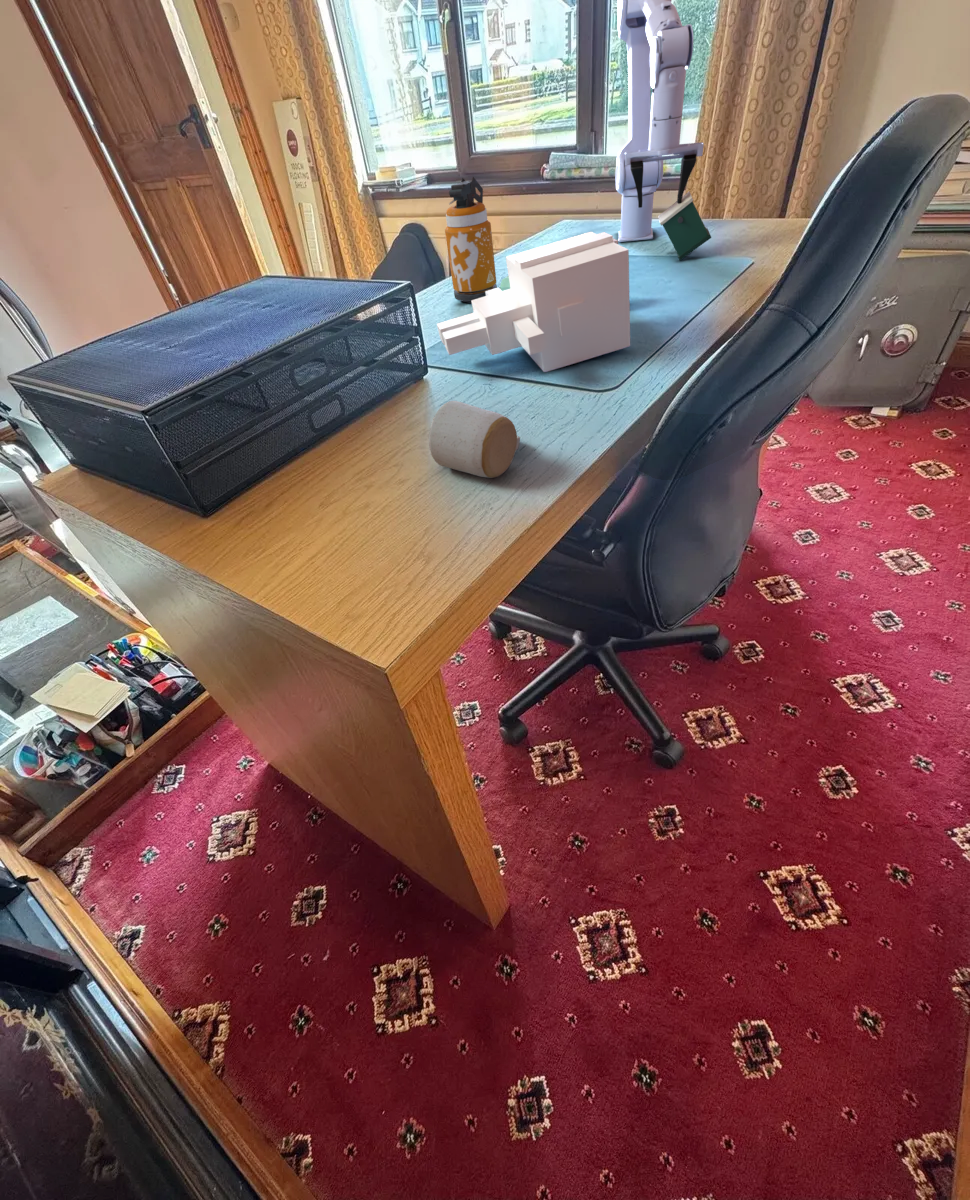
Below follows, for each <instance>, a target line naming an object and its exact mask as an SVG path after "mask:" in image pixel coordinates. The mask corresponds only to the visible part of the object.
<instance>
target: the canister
mask: <svg viewBox="0 0 970 1200" xmlns="http://www.w3.org/2000/svg"><path fill="white" fill-rule="evenodd" d="M477 191H478V192H479V194H478V193H477ZM448 195H449V197H450V198H453V199H452V200H451V201H450V202H448V205H452V204H453V203H455V205H452V206H450V207H448V208H447V209H446V214H445V220H446V221H445V222H446V227H445V229H444V233H445V240H446V247H447V253H448V261H449V267H450V274H451V282H452V289H453V297H454V299H456V301H461V302H463V303H469V304H472V302H471V300H474V299H478V298H481V297H484V296H486V293H485V291H488V290H491V289H495V288H498V286H497V275H496V274H497V273H496V264H495V254H494V245H493V234H492V233H493V232H492V223H491V221H489V220H488V212H487V211H488V210H487V208H486V205H485V203H484V202H483V201H484V188H483V187H482V186H481V185H480V183H479V182H478V181H477V179H476V178H475V177H474V176H472V178H471V180H467V181H466V180H465V178H464V177H461V181H460V182H458V183H455V184H454V183H453V184H451V185H450V190H449V192H448Z"/></svg>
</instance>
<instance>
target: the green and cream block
mask: <svg viewBox="0 0 970 1200" xmlns="http://www.w3.org/2000/svg"><path fill="white" fill-rule="evenodd" d="M658 221H659V224H660V226H662V227H663V229H664V231H665V233H666V235H667V236H668V238H669V240H670V242H671V244H672V247H673V249H675V252H676V255H677V258H678V260H679V262H680V261H682V260H683V259H684V258H686V257H688V256H689V255H690V254H691V253H693V252H694V251H695V250H697V249H698V248H699V247H701V246H702V245H704V244H705V243H706V242H707V241H709V240H710V239H712V236H711V232H710V231H709V229H708V227H707V226H705V224H704V222H703V219H702V217H701V215H700V213H699V212H698V208H697V207H696V205H695V203H694V199H693V195H692V194H691V191H690V190H688V192H686V193H684V194H683V196H682V201H681V203H679V204H678V203H677V200H676V201H675V202H674V203H672V204H671V205H670V206H668V208H666V209H665V210H664V211H662V212H661V213H660V214H658Z"/></svg>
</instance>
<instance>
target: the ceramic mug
mask: <svg viewBox="0 0 970 1200" xmlns="http://www.w3.org/2000/svg"><path fill="white" fill-rule="evenodd" d="M433 416H434V417H433V418H432V421H431V424H430V428H429V433H428V444H429V445H428V446H429V452H430V454H431V457H432V459H433V461H434V462H435V463H436V464H437V465H439V466H442V467H445V468H449V469H451V470H452V469H453V470H455V471H458V472H463V473H468V474H471V475H473V476H478V477H481V478H487V479H488V478H490V479H494V478H497V477H499V476H501V475H503V474H504V473H505V472H506V471H507V470H508V468H509V467H510V465H511V464H512V462H513V460H514V457H515V454H516V452H517V451H518V450H519V448H520V444H521V437H520V436H519V435H518V433H517V429H516V426H515V424H514V423H513V421H512V420H511V419H510V418H509V417H507V416H505V415H504V414H501V413H498V412H497V411H492V410H488V409H484V408H481V407H479V406H474V405H472V404H469V403H465V402H463V401H458V400H449V401H447V402H445V403H443V405H441V406H440V407H439V408H438V410H437V411H436V413H435V414H434V415H433Z"/></svg>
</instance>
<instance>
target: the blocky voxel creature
mask: <svg viewBox="0 0 970 1200" xmlns="http://www.w3.org/2000/svg"><path fill="white" fill-rule="evenodd" d="M629 251H630V250H629V249H628V248H626V247H624V246H623V245H620V244H619V242H618V239H616V238H614V235H612V234H610V233H607V232H605V231H602V232H599V233H595V232H593V231H588V232H585V233H580V234H578V235H573V236H571V237H568V238H564V239H561V240H556V241H554V242H550V243H547V244H544V245H540V246H537V247H533V248H531V249H527V250H523V251H520V252H517V253H513V254H510V255H507V256H505V262H506V268H507V269H506V270H507V274H508V275H507V276H509V282H510V289H508V290H504V291H501V290H500V287H497V288H495V289H491V290H488V291H485V293H486V296H484V297H481V298H478V299H474V300H471V302H472V303H471V306H472V311H473V312H471V313H467V314H465V315H460V316H458V317H454V318H450V319H448V320H444V321H441V322H437V323H436V327H437V331H438V335H439V338H440V341H441V342H442V343H441V344H443V346H444V347H445V350H446V352H447V353H448V355H449V356H450V355H451V356H452V355H454V354H458V353H462V352H465V351H468V350H472V349H476V348H478V347H482V346H485V347H486V349H487V351H488V352H489V353H490V354H491V356H494V355H498V354H502V353H505V352H508V351H512V350H515V349H518V348H522V349H524V351H525V352H526V353H527V354H528V356H529V357H530V358H531V359H532V360H533V361H534V362H535V364H536V365H537V366H538V367H539V368H540V369H541V371H542V372H543V373H547V372H551V371H554V370H557V369H560V368H564V367H566V366H570V365H573V364H577V363H580V362H583V361H587V360H590V359H593V358H597V357H599V356H602V355H606V354H609V353H612V352H615V351H620V350H622V349H626V348H629V347H631V312H630V311H631V309H630V308H631V307H630V306H631V304H630V302H631V301H630V252H629Z"/></svg>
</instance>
